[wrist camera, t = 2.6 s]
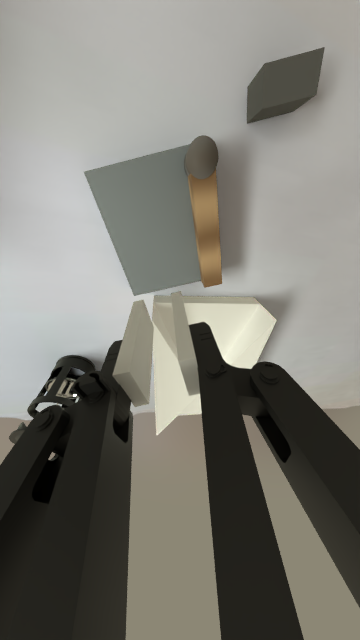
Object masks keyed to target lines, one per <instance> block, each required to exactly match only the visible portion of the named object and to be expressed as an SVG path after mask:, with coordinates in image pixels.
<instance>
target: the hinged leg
mask: <svg viewBox="0 0 360 640" xmlns="http://www.w3.org/2000/svg"><path fill="white" fill-rule="evenodd" d="M217 162H218V150H217V146H216V144H215V142H214V141H213V140H212V139H211V138H210V137H208V136H199V137H197V138H196V139H194V141H193V142H192V143H191V145H190V147H189V149H188V151H187V153H186V155H185V159H184V169H185V173H186V175H187V177H188V183H189V191H190V198H191V206H192V214H193V221H194V229H195V236H196V244H197V252H198V259H199V267H200V274H201V281H202V283H203V285H204V287H210V286H214V285H219V284H222V273H221V254H220V236H219V218H218V199H217V181H216V166H217Z"/></svg>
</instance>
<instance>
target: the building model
mask: <svg viewBox="0 0 360 640" xmlns="http://www.w3.org/2000/svg"><path fill="white" fill-rule="evenodd" d="M182 298H183V303H184V307H185V312H186V316H187V320H188V325H191V324H195V323H200V322H205V323H207V324H208V325H209V326H210V328H211V331H212V333H213V336H214V338H215V341H216V343H217V346H218V348H219V351H220V353H221V356H222V358H223V359H224V361H225V362H226V363H228V364H229V365H231V366H234V367H238V368H248V369H252V367H253V366H254V365H255V364H256V363H257V360H258V358H259V356H260V354H261V352H262V350H263V348H264V346H265V344H266V342H267V340H268V338H269V336H270V333H271V331H272V329H273V327H274V325H275V323H276V321H277V320H276V319H275V318H274V317H273V316H272V315H271V314H270V313H269V312H268V311H267V310H266V309H265V308H264V307H263V306H262V305H261V304H260V303H259V302H258V301H257V300H256V299H255V298H254V297H206V296H182ZM152 324H153V327H154V332H153V359H154V385H155V412H156V435H158V434H159V433H160V432H161V431H162V430H163V429H164V428H165V427H166V426H167V425H169V423H171V422H172V421H173V420H174V419H175V418H176V417H177V416H178V415H193V414H202V411H201V399H200V394H196V395H191V396H189V394H188V391H187V388H186V385H185V381H184V378H183V375H182V372H181V369H180V365H179V362H178V354H177V345H176V335H175V326H174V317H173V308H172V298H171V296H154V302H153V314H152Z"/></svg>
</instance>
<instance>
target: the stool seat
mask: <svg viewBox="0 0 360 640" xmlns="http://www.w3.org/2000/svg"><path fill="white" fill-rule="evenodd" d="M190 145H191V144H189V145H186V146H182V147H178V148H174V149H170V150H166V151H163V152H159V153H155V154H151V155H147V156H143V157H139V158H136V159H132V160H128V161H124V162H120V163H116V164H113V165H109V166H105V167H101V168H97V169H93V170H90V171H86V172H84V173H85V176H86V178H87V181H88V183H89V186H90V188H91V191H92V193H93V196H94V198H95V201H96V203H97V205H98V208H99V210H100V213H101V215H102V218H103V220H104V223H105V225H106V228H107V230H108V233H109V235H110V238H111V240H112V243H113V245H114V247H115V250H116V252H117V255H118V257H119V260H120V262H121V265H122V267H123V270H124V272H125V275H126V277H127V280H128V282H129V284H130V287H131V289H132V292H133V294H134V296H136V295H140V294H145V293H149V292H153V291H158V290H162V289H167V288H171V287H175V286H180V285H184V284H189V283H193V282H197V281H201V274H200V267H199V259H198V252H197V244H196V236H195V229H194V221H193V214H192V206H191V198H190V191H189V183H188V177H187V175H186V173H185V169H184V159H185V155H186V153H187V151H188V149H189V147H190Z"/></svg>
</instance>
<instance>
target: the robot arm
mask: <svg viewBox="0 0 360 640" xmlns="http://www.w3.org/2000/svg"><path fill="white" fill-rule="evenodd" d="M171 298H172V308H173V317H174V326H175V335H176V345H177V354H178V362H179V365H180V369H181V372H182V375H183V378H184V381H185V385H186V388H187V391H188V394H189V396H191V395H196V394H200V399H201V411H202V422H203V433H204V445H205V457H206V468H207V480H208V491H209V503H210V514H211V526H212V537H213V548H214V559H215V572H216V583H217V595H218V606H219V618H220V629H221V640H304V639H303V635H302V631H301V628H300V624H299V620H298V617H297V613H296V609H295V606H294V602H293V599H292V595H291V591H290V588H289V584H288V580H287V577H286V573H285V570H284V566H283V562H282V558H281V555H280V551H279V548H278V544H277V540H276V536H275V533H274V529H273V526H272V522H271V518H270V515H269V511H268V508H267V504H266V500H265V497H264V493H263V489H262V486H261V482H260V478H259V475H258V471H257V467H256V464H255V460H254V457H253V453H252V449H251V445H250V442H249V438H248V434H247V431H246V427H245V424H244V420H243V416H242V414H243V415H249V416H252V418H253V420H254V422H255V423H256V425H257V427H258V428H259V430H260V432H261V434H262V436H263V437H264V439H265V441H266V443H267V445H268V446H269V448H270V450H271V451H272V453H273V455H274V457H275V459H276V461H277V462H278V464H279V466H280V468H281V469H282V471H283V473H284V475H285V476H286V478H287V480H288V482H289V483H290V485H291V487H292V489H293V491H294V492H295V494H296V496H297V498H298V499H299V501H300V503H301V505H302V507H303V508H304V510H305V512H306V514H307V515H308V517H309V518H310V520H311V522H312V524H313V526H314V528H315V529H316V531H317V533H318V535H319V537H320V538H321V540H322V542H323V544H324V545H325V547H326V549H327V551H328V552H329V554H330V556H331V558H332V560H333V561H334V563H335V565H336V567H337V568H338V570H339V572H340V574H341V575H342V577H343V579H344V581H345V583H346V584H347V586H348V588H349V590H350V591H351V593H352V595H353V597H354V599H355V600H356V602H357V604H358V605H359V607H360V450H359V449H358V447H357V446H356V445H355V444H354V443H353V442H352V441H351V440H350V439H349V438H348V437H347V436H346V435H345V434H344V433H343V432H342V430H340V429H339V427H338V426H337V425H336V424H335V423H334V422H333V421H332V420H331V419H330V418H329V417H328V416H327V415H326V413H325V412H324V411H323V410H322V409H321V408H320V407H319V406H318V405H317V404H316V403H315V402H314V401H313V400H312V399H311V397H310V396H309V395H308V394H307V393H306V392H305V391H304V390H303V389H302V388H301V387H300V386H299V385H298V384H297V383H296V382H295V380H294V379H293V378H292V377H291V376H290V375H289V374H288V373H287V372H286V371H285V370H284V369H283V368H281V367H280V366H279V365H277V364H274V363H271V362H259V363H257V364H255V365H254V366H253V367H252V369H248V368H238V367H234V366H231V365H229V364H228V363H226V362H225V361H224V359H223V358H222V356H221V353H220V351H219V348H218V346H217V343H216V341H215V338H214V336H213V333H212V331H211V328H210V326H209V325H208V324H207V323H205V322H200V323H195V324H191V325H188V320H187V316H186V312H185V307H184V303H183V298H182V294H181V291H180V292H175V293H171ZM153 332H154V327H153V324H152V321H151V319H150V316H149V313H148V311H147V308H146V305H145V303H144V300H140V301H135V302H133V306H132V309H131V313H130V316H129V320H128V323H127V327H126V330H125V333H124V337H123V340H120V341H115V342H114V343H113V344H112V345H111V347H110V348H109V350H108V353H107V356H106V358H105V362H104V364H103V367H102V369H101V372H100V371H96V370H95V371H90V372H87V373H85V374H83V375H82V376H81V377H79V378H78V379H77V380H76V381H75V382H74V384H73V385H72V387H71V390H72V391H73V392H74V393H75V394H76V395H77V396H79V397H80V398H81V400H80V401H79V402H77V403H75V404H73V405H71V406H69V407H67V408H65V409H63V408H62V407H61V406H59V405H52V406H49V407H47V408H45V409H44V410H42V411H41V412H40V413H39V414H37V415H36V416H35V418H34V419H33V420H32V421H31V422H30V424H29V425H28V427H27V428H26V429H25V431H24V432H23V434H22V435H21V437H20V438H19V439H18V441H17V442H16V444H15V445H14V446H13V448H12V450H11V451H10V452H9V454H8V455H7V456H6V458H5V459H4V461H3V462H2V464H1V465H0V640H125V636H126V607H127V576H128V548H129V519H130V491H131V461H132V459H131V458H132V431H133V415H132V412H131V411H130V405H131V402H132V403H133V405H134V406H135V407H136V406H141V405H146V404H149V396H150V380H151V364H152V348H153ZM52 452H53V453H55V456H54V457H53V458H52V459H51V460H48V458H49V457H50V454H51V453H52Z"/></svg>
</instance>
